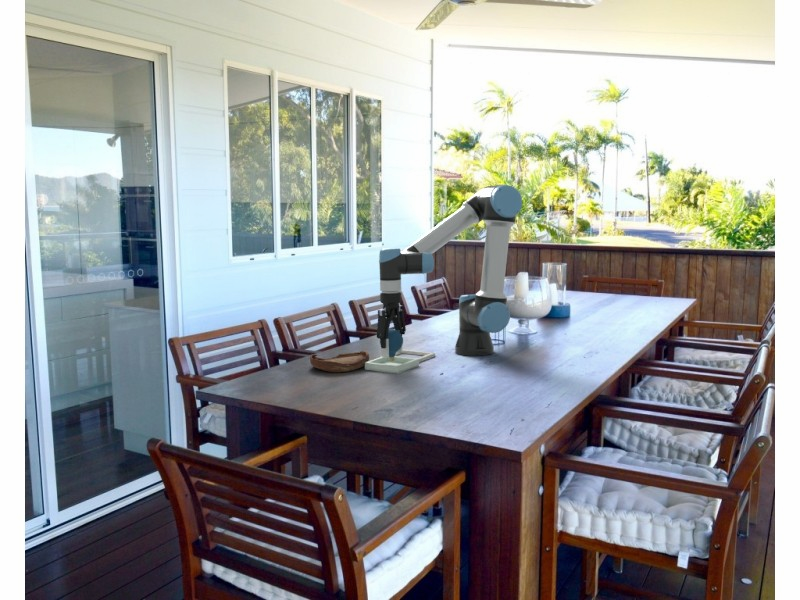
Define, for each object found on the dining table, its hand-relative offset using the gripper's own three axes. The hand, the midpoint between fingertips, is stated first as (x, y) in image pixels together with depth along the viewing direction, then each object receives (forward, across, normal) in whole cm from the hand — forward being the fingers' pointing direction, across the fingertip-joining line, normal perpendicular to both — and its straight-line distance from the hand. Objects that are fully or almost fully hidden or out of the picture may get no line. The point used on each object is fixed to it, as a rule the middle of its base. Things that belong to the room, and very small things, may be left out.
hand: (392, 354), depth 249 cm
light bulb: (+3, 0, 0) cm, 3 cm away
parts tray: (+5, 0, 0) cm, 5 cm away
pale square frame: (+5, -16, -4) cm, 17 cm away
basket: (+5, +7, -17) cm, 20 cm away
